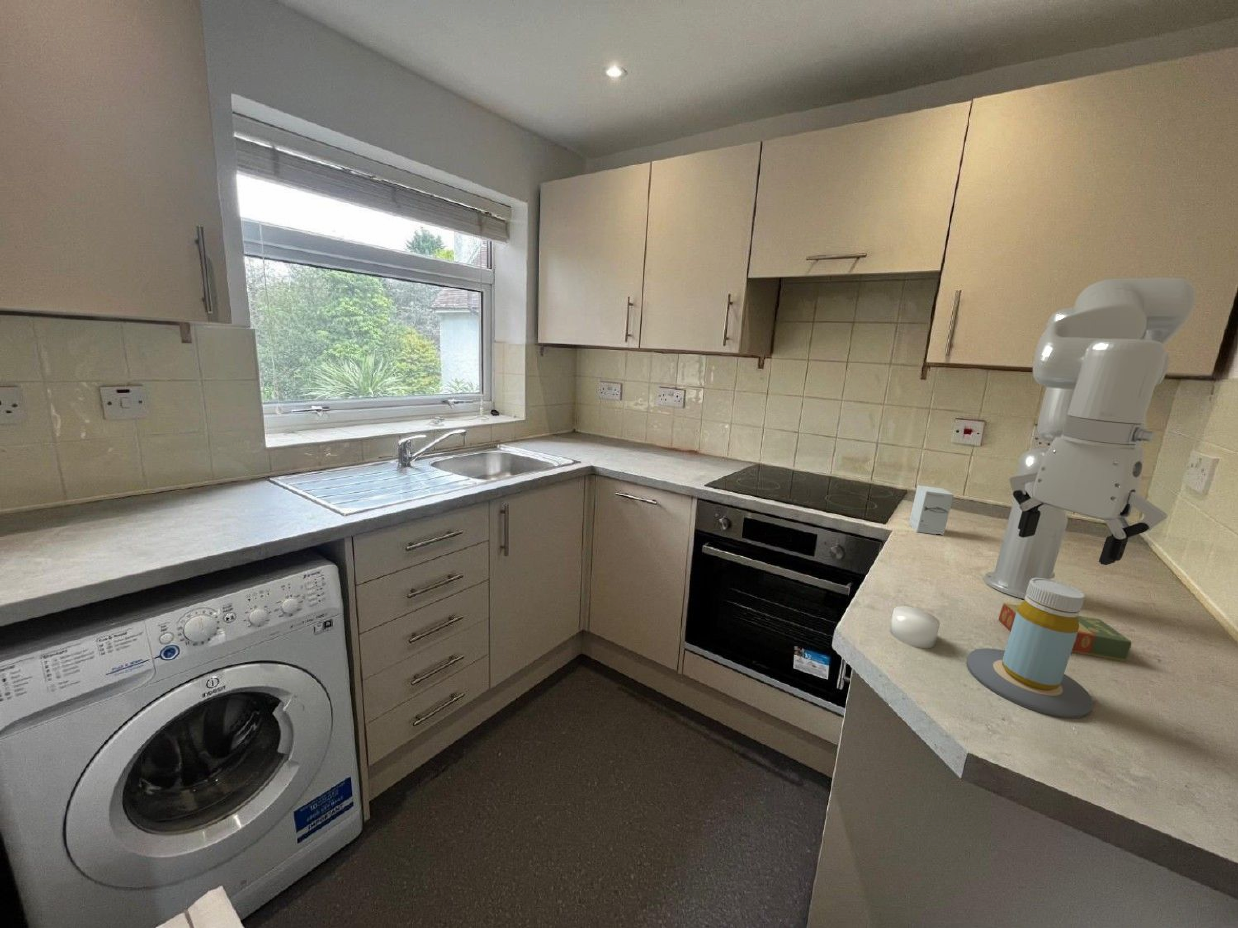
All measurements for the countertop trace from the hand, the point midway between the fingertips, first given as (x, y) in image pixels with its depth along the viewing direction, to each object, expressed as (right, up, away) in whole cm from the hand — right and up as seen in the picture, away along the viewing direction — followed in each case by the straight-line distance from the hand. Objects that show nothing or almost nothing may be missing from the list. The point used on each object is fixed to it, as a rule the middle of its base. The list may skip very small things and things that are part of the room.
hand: (1064, 548), depth 72 cm
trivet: (-2, -21, +4) cm, 22 cm away
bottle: (-2, -20, +4) cm, 21 cm away
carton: (+15, -20, +18) cm, 31 cm away
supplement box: (+26, -8, +75) cm, 80 cm away
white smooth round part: (-13, -18, +15) cm, 27 cm away
